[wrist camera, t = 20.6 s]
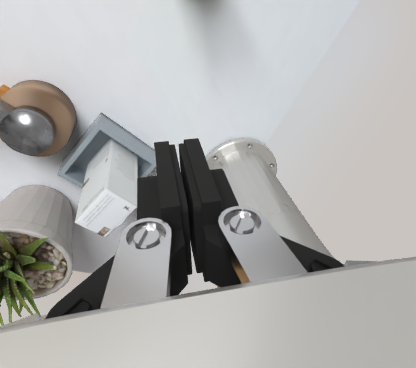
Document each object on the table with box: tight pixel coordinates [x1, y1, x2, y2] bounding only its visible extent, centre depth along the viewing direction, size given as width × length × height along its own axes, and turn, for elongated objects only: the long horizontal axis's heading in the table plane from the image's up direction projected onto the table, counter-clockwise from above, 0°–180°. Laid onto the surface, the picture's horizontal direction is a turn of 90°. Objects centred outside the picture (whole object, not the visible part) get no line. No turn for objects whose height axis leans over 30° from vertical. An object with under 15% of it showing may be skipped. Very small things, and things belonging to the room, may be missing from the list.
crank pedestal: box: [0, 80, 76, 156], centre depth 35 cm, size 9×8×4 cm
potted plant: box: [0, 185, 73, 326], centre depth 37 cm, size 13×14×20 cm
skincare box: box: [75, 138, 138, 237], centre depth 37 cm, size 6×4×12 cm
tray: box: [57, 113, 156, 188], centre depth 41 cm, size 9×9×4 cm
